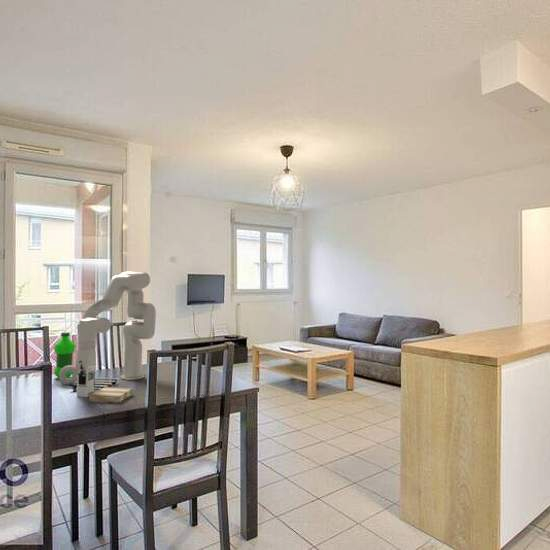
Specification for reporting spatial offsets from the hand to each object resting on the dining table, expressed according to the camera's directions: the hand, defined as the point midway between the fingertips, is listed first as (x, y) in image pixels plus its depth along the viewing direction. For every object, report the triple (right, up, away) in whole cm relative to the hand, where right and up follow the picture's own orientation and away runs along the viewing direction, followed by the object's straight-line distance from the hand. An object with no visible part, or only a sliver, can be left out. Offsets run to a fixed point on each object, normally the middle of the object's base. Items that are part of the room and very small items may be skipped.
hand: (85, 382), depth 199 cm
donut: (-17, -6, +19) cm, 26 cm away
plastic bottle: (-27, -6, +33) cm, 43 cm away
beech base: (+14, -6, -3) cm, 15 cm away
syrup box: (0, -6, 0) cm, 6 cm away
